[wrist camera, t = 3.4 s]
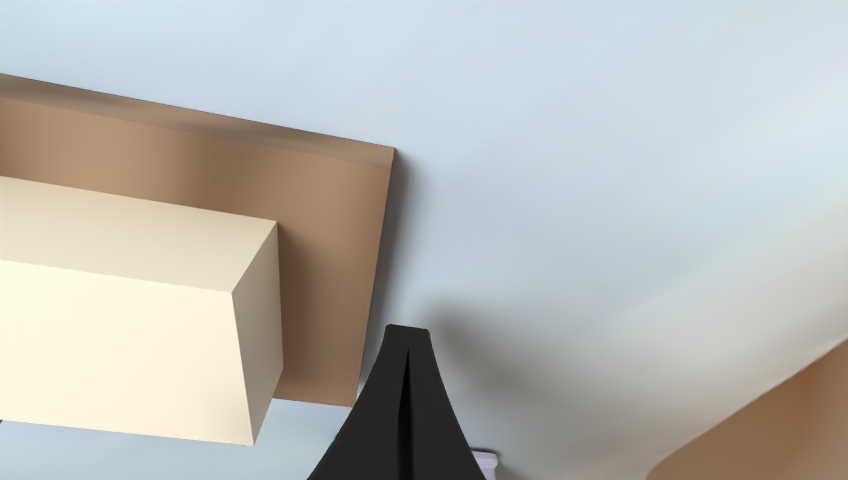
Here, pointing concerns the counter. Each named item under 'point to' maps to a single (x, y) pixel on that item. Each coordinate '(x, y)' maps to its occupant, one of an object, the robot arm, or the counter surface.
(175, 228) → the carton
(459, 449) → the robot arm
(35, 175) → the open-sided wooden box
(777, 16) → the counter surface
